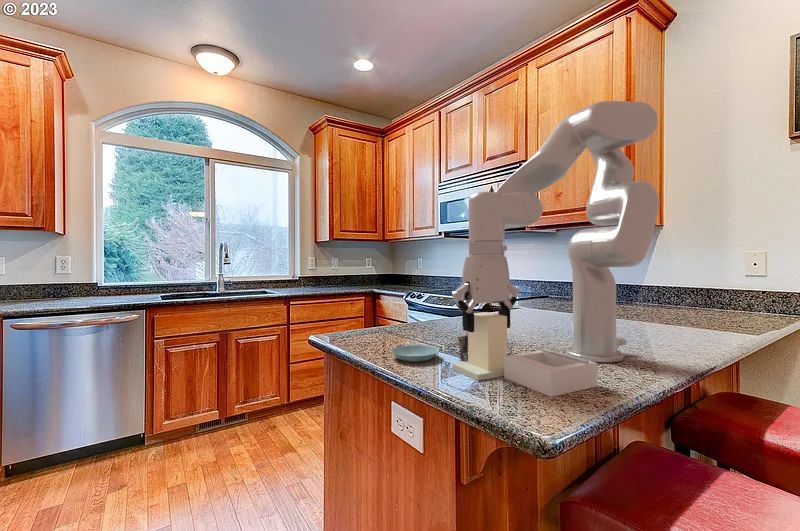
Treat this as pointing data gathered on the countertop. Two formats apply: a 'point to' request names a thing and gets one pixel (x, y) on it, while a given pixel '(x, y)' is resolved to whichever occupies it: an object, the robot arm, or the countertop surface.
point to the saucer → (415, 353)
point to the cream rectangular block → (488, 341)
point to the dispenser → (550, 372)
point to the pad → (476, 371)
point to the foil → (464, 346)
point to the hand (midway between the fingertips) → (486, 329)
